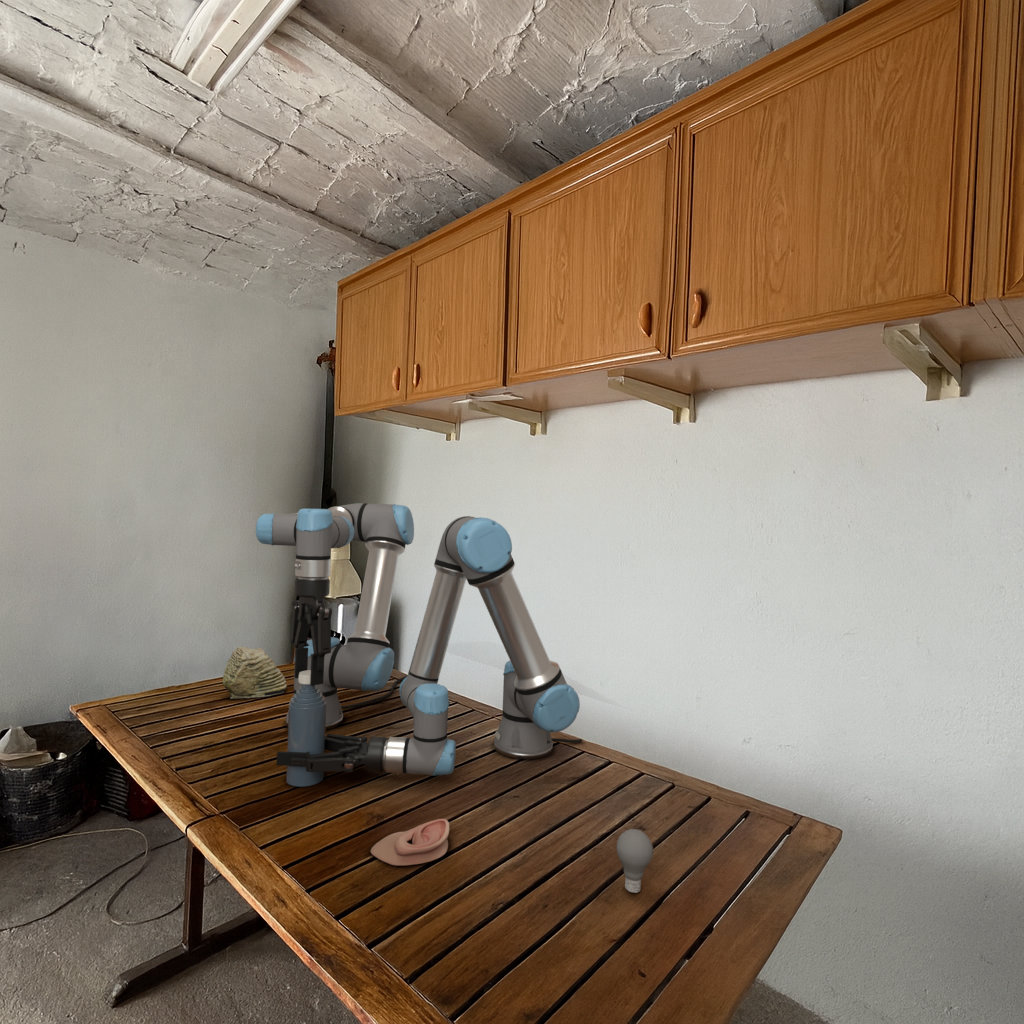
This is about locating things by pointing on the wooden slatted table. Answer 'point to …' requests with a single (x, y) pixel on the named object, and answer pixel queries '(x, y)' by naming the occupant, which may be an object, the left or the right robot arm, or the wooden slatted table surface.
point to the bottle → (306, 732)
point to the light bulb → (634, 857)
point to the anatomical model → (414, 844)
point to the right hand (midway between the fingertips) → (284, 750)
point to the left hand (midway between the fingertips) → (308, 680)
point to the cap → (305, 677)
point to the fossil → (252, 674)
